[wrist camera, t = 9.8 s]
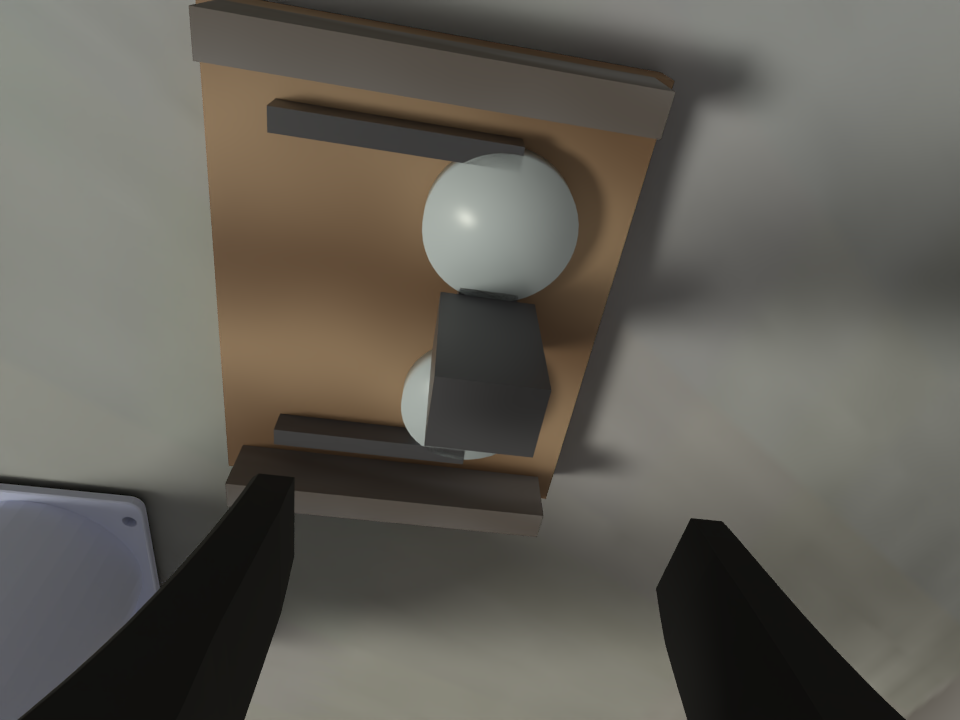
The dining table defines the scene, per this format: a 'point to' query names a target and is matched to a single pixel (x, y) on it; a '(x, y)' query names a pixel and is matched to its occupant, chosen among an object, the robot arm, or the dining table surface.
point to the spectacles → (460, 289)
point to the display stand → (392, 242)
